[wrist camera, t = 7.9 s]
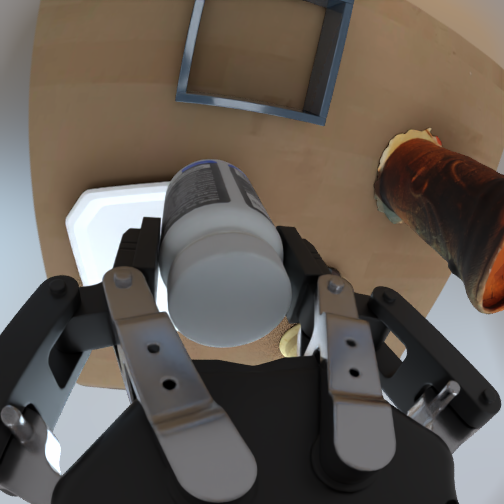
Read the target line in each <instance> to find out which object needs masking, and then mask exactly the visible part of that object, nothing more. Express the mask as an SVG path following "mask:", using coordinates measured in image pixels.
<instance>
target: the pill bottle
mask: <svg viewBox="0 0 504 504" xmlns="http://www.w3.org/2000/svg"><path fill="white" fill-rule="evenodd" d="M283 259H284V252H283V245H282V241H281V238H280V235H279V233H278V231H277V229H276V228H275V226H274V224H273V223H272V221H271V219H270V217H269V215H268V214H267V212H266V210H265V208H264V207H263V205H262V203H261V201H260V199H259V197H258V196H257V194H256V192H255V190H254V189H253V187H252V185H251V183H250V181H249V180H248V178H247V177H246V175H245V174H244V173H243V172H242V171H241V170H240V169H239V168H237V167H236V166H234V165H232V164H230V163H228V162H225V161H222V160H216V159H204V160H199V161H195V162H193V163H191V164H189V165H187V166H185V167H184V168H182V169H181V170H180V171H179V172H178V173H177V174H176V175H175V176H174V177H173V178H172V180H171V182H170V183H169V186H168V188H167V191H166V195H165V201H164V209H163V218H162V226H161V236H160V247H159V255H158V263H159V270H160V274H161V278H162V280H163V283H164V284H165V286H166V288H167V302H168V311H169V315H170V318H171V320H172V322H173V324H174V325H175V327H176V328H177V329H178V331H179V332H180V333H181V334H183V335H184V336H185V337H187V338H188V339H190V340H192V341H194V342H197V343H199V344H202V345H206V346H210V347H235V346H240V345H244V344H248V343H251V342H253V341H256V340H258V339H260V338H262V337H263V336H265V335H267V334H268V333H269V332H271V331H272V330H273V329H274V328H275V327H276V326H277V325H278V324H279V323H280V322H281V321H282V320H283V318H284V317H285V315H286V313H287V312H288V310H289V307H290V303H291V299H292V289H291V283H290V280H289V277H288V275H287V273H286V271H285V268H284V266H283Z"/></svg>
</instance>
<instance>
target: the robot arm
mask: <svg viewBox="0 0 504 504" xmlns="http://www.w3.org/2000/svg"><path fill="white" fill-rule="evenodd" d="M276 229H277V231H278V233H279V235H280V238H281V241H282V245H283V252H284V259H283V266H284V268H285V271H286V273H287V275H288V277H289V280H290V283H291V289H292V299H291V303H290V307H289V310H288V312H287V313H286V317H287V320H288V322H289V323H300V325H301V327H300V329H299V332H298V338H297V356H296V357H285V358H281V359H278V360H274V361H271V362H267V363H264V364H260V365H256V366H250V365H244V364H238V363H233V362H227V361H222V360H191V359H190V357H189V355H188V353H187V351H186V349H185V347H184V345H183V343H182V341H181V339H180V337H179V335H178V333H177V331H176V329H175V327H174V325H173V323H172V321H171V319H170V317H169V315H168V314H167V312H166V311H162V312H160V311H159V309H158V307H157V305H156V300H157V286H158V273H159V263H158V255H159V247H160V233H161V218H159V217H143V220H142V224H141V228H129V229H128V230H127V231H126V232H125V233H124V234H123V235H122V238H121V242H120V245H119V249H118V251H117V255H116V258H115V261H114V265H113V268H112V269H110V270H109V271H107V272H106V273H105V274H104V276H103V278H102V282H100V283H98V284H95V285H90V286H84V287H79V285H78V283H77V281H76V280H75V279H74V278H72V277H69V276H64V275H59V276H54V277H51V278H49V279H47V280H45V281H44V282H43V283H42V284H41V285H40V286H39V287H38V288H37V290H36V291H35V292H34V293H33V294H32V295H31V297H30V298H29V299H28V300H27V302H26V303H25V304H24V305H23V306H22V308H21V309H20V310H19V311H18V313H17V314H16V315H15V316H14V318H13V319H12V320H11V321H10V323H9V324H8V325H7V327H6V328H5V330H4V331H3V332H2V333H1V335H0V490H1V491H2V492H4V493H6V494H8V495H10V496H19V497H20V498H22V499H23V500H25V501H27V502H29V503H31V504H459V503H458V500H457V496H456V490H455V482H454V461H453V457H452V454H453V453H454V451H455V450H456V449H457V448H458V447H459V446H460V445H461V444H462V443H464V442H465V441H466V440H467V439H468V438H470V437H471V436H472V435H473V434H474V433H476V432H477V431H478V430H479V429H480V428H481V427H482V426H483V425H485V424H486V423H487V422H488V421H489V420H490V419H491V418H492V417H493V416H494V415H495V414H496V413H497V412H498V411H499V410H500V408H501V400H500V396H499V394H498V393H497V391H496V390H495V389H494V387H493V386H491V384H490V383H489V382H488V381H487V380H486V379H485V378H484V377H483V376H482V375H481V374H480V373H479V372H478V371H477V369H475V368H474V366H473V365H472V364H471V363H470V362H469V361H468V360H467V359H466V358H465V357H464V356H463V355H462V354H461V353H460V352H459V351H458V350H457V349H456V348H455V347H454V346H453V345H452V344H451V343H450V342H449V341H448V340H447V339H446V338H445V337H444V336H443V335H442V334H441V333H440V332H439V331H438V330H437V329H436V328H435V327H434V326H433V325H432V324H431V323H429V321H428V320H427V319H425V318H424V317H423V316H422V315H421V314H420V313H419V312H418V311H417V310H416V309H415V308H414V307H413V306H412V305H411V304H410V303H409V302H407V301H406V300H405V299H404V298H403V297H402V296H401V295H400V294H399V293H398V292H396V291H394V290H393V289H390V288H388V287H383V286H379V287H376V288H374V290H373V292H372V294H371V296H368V295H363V294H359V293H355V292H354V290H353V287H352V285H351V284H350V283H349V282H348V281H347V280H345V279H344V278H342V277H339V276H336V275H332V273H331V272H330V270H329V269H328V267H327V266H326V264H325V263H324V261H323V260H322V258H321V256H320V255H319V254H318V252H317V250H316V249H315V247H314V246H313V245H312V244H311V243H310V242H308V241H307V240H306V239H302V238H301V236H300V235H299V233H298V232H297V230H296V228H295V227H286V226H277V227H276ZM390 331H392V333H393V334H394V335H395V336H396V337H397V338H398V339H399V340H400V341H401V342H402V343H403V344H404V345H405V347H406V349H407V356H406V358H405V360H404V361H403V362H402V361H401V360H400V359H399V358H398V357H397V356H396V354H395V353H394V352H393V351H392V350H391V349H390V348H389V347H388V346H387V345H386V344H385V342H384V341H385V339H386V337H387V336H388V334H389V332H390ZM109 346H113V349H114V352H115V355H116V359H117V362H118V365H119V369H120V372H121V375H122V378H123V381H124V384H125V388H126V391H127V395H128V398H129V401H130V404H131V405H130V406H129V407H128V408H127V409H126V410H125V411H124V412H123V413H122V414H121V415H120V416H119V417H118V418H117V419H116V420H115V422H114V423H112V425H111V426H110V427H109V428H108V429H107V430H106V431H105V432H104V433H103V434H102V435H101V436H100V437H99V438H98V439H97V440H96V441H95V442H94V443H93V444H92V445H91V447H90V448H89V449H88V450H87V451H86V452H85V453H84V454H83V455H82V456H81V457H80V458H79V459H78V460H77V461H76V462H75V463H74V464H73V465H72V466H71V467H70V468H69V469H68V470H67V471H66V472H65V473H64V474H63V475H61V472H60V470H59V457H60V445H59V441H58V439H57V438H56V436H55V435H54V434H53V430H54V427H55V425H56V423H57V421H58V418H59V416H60V414H61V412H62V410H63V407H64V405H65V403H66V401H67V399H68V397H69V395H70V393H71V391H72V389H73V387H74V385H75V383H76V381H77V379H78V377H79V375H80V373H81V371H82V369H83V367H84V365H85V363H86V361H87V359H88V357H89V356H90V354H91V351H92V350H94V349H99V348H104V347H109ZM382 390H383V391H384V392H385V393H386V395H387V396H388V397H389V399H390V400H391V401H392V402H393V403H394V405H395V406H396V407H397V408H398V409H397V408H396V407H394V406H393V405H391V404H390V403H389V402H388V401H386V400H385V399H384V398H383V395H382Z"/></svg>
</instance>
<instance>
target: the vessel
mask: <svg viewBox="0 0 504 504" xmlns="http://www.w3.org/2000/svg"><path fill="white" fill-rule="evenodd" d="M430 130H431V128H428V129H426V130H424V131H423V132H421V131H417V130H409V131H408V132H407V133H406V134H399V135H396V136H395V138H394V139H392V140H390V143H389V146H388V147H387V148H386V149H385V151H384V152H383V155H382V157H381V159H380V163H381V164H380V165H379V168H378V172H379V175H378V176H377V178H378V180H377V181H376V183H375V184H374V188H375V199H378V200H377V206H378V207H379V208H378V211H381V212H384V213H385V214H386V216H387V217H388V219H389V220H390V221H391V222H392V223H394V224H396V223H399V224H402V223H403V222H405V223H406V224H407V225H408V226H410V227H411V228H412V229H413V230H414V231H415V232H416V233H417V234H418V235H419V236H420V237H421V238H422V239H423V240H424V241H425V242H426V243H427V244H428V245H430V246H431V247H432V248H433V249H434V250H435V251H437V252H438V253H439V254H440V255H441V256H442V257H443V258H444V259H445V260H446V261H447V262H448V268H449V269H450V270H451V272H452V273H453V274H455V275H456V276H457V277H459V278H460V279H461V280H462V281H463V283H464V285H465V289H466V293H467V295H468V298H469V300H470V302H471V303H472V305H473V306H474V307H475V308H476V309H477V310H478V311H479V312H481V313H485V314H493V313H496V312H499V311H502V310H504V175H502V174H500V173H498V172H496V171H495V170H493V169H491V168H489V167H487V166H485V165H483V164H481V163H479V162H477V161H476V160H474V159H472V158H470V157H468V156H465V155H462V154H460V153H456V152H453V151H450V150H447V149H445V148H442V143H441V141H440V140H439V138H438V137H437V136H435V137H433V136H432V135H431V133H430Z"/></svg>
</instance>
